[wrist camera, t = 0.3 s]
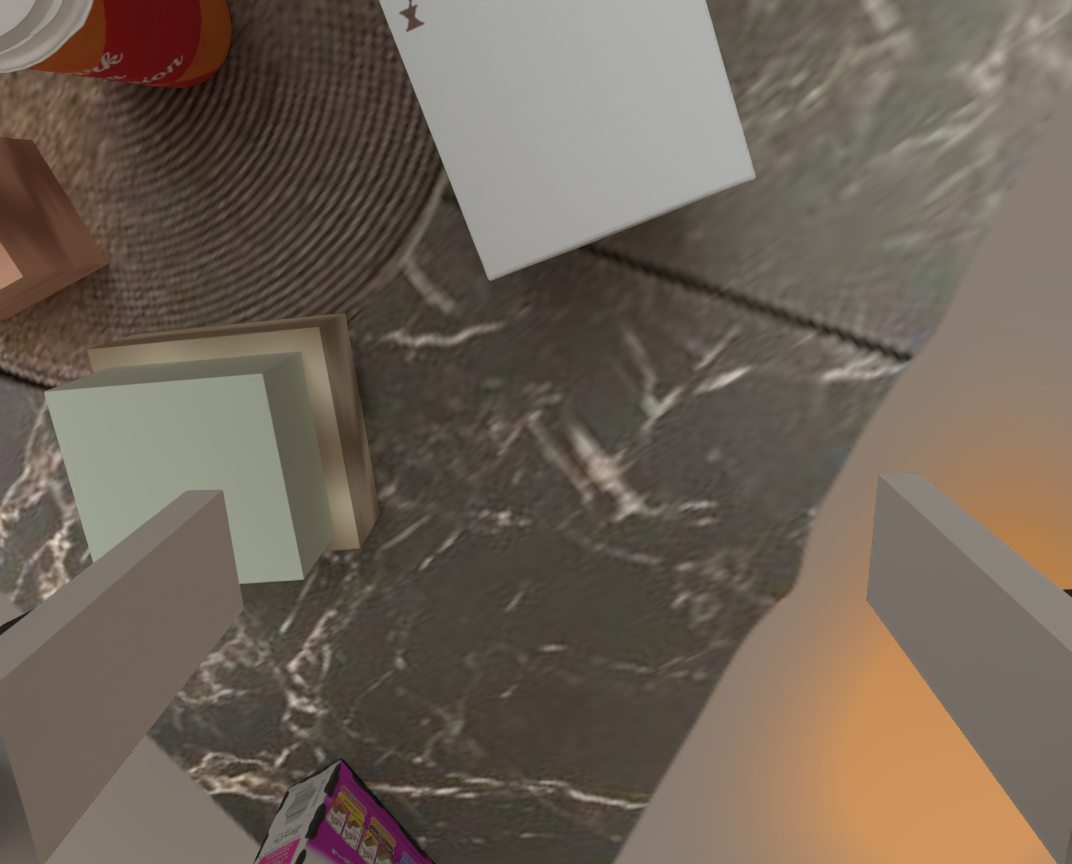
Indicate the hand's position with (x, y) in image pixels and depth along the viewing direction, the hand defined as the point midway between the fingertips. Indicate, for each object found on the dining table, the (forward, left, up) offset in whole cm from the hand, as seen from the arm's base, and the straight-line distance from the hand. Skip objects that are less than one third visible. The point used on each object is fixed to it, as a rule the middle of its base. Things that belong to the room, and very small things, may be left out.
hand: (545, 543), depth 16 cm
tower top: (+4, -18, -23) cm, 29 cm away
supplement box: (-10, +1, -28) cm, 30 cm away
